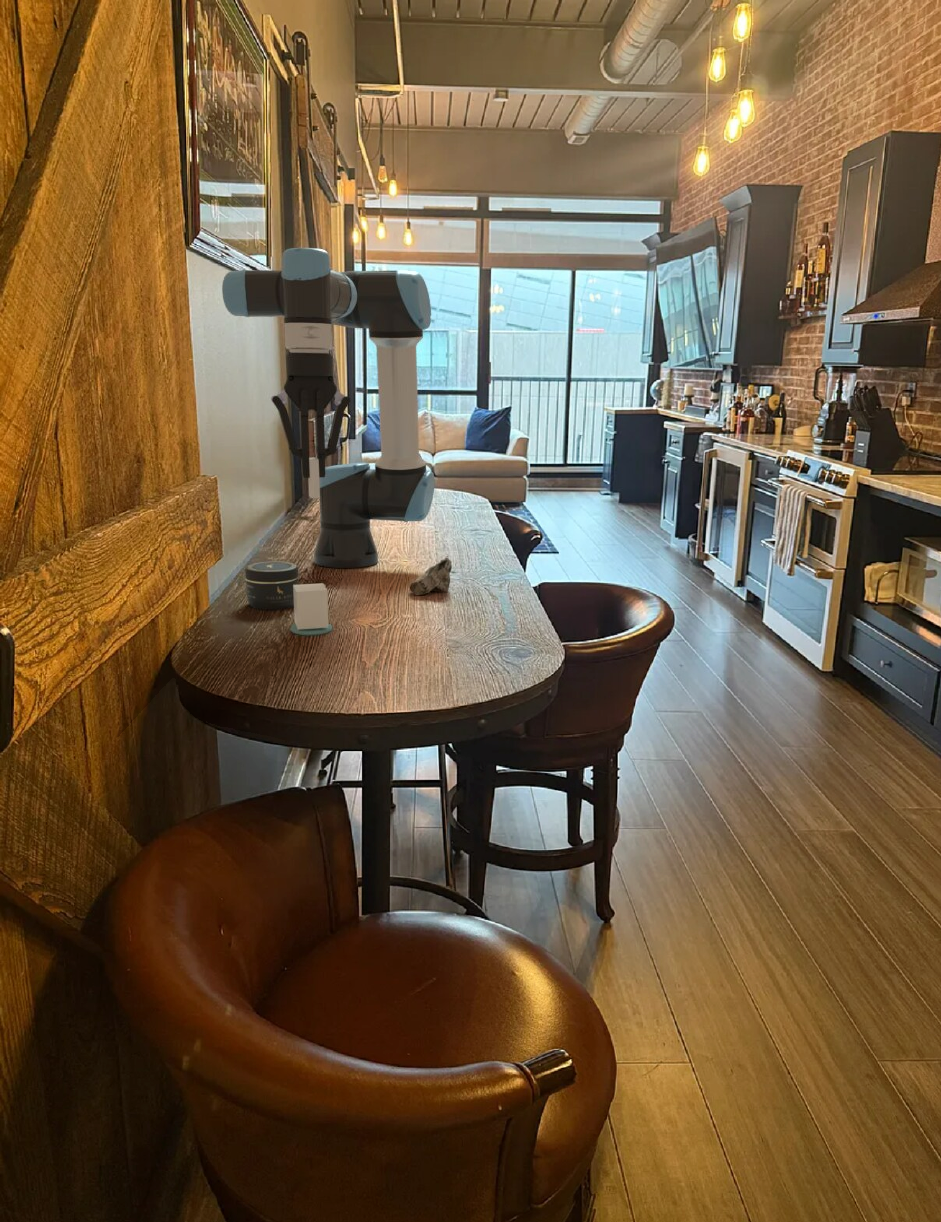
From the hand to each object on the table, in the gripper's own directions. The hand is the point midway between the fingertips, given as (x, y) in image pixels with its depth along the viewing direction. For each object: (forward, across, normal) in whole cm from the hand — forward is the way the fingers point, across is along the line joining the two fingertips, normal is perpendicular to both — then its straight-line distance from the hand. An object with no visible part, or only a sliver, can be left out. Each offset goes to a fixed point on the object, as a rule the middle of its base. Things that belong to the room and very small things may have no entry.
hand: (314, 496), depth 145 cm
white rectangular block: (+22, -2, -2) cm, 22 cm away
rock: (+24, +26, +20) cm, 40 cm away
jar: (+23, -7, +17) cm, 30 cm away
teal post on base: (+23, -2, -2) cm, 23 cm away
